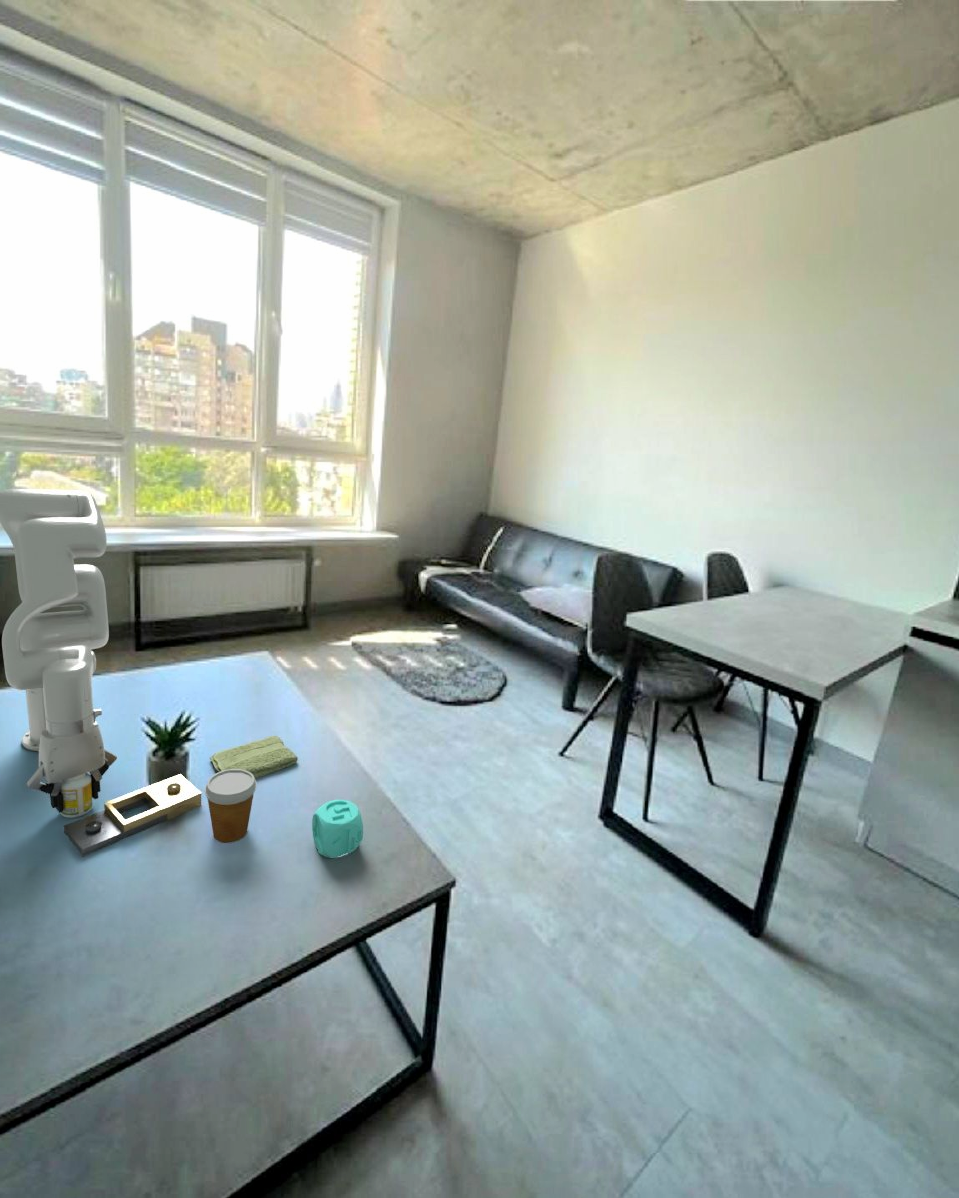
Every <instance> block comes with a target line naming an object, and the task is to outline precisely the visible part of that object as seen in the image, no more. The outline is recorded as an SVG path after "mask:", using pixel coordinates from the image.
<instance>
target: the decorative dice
mask: <svg viewBox="0 0 959 1198" xmlns="http://www.w3.org/2000/svg"><path fill="white" fill-rule="evenodd" d="M311 830H312V839H313V842H314V843H313V844H314V846H315V845H316V846H315V849H316V848H317V849H318V851H317V852H318V854H320V855H321V854H322V855H321V856H323V857H326V858H329V857H332V858H331V859H336V858H335V857H338V856H341V855H343V854H346V853H350V854H351V852H352V853H354V851H356V849H357V848H358V847H360V845H361V842H362V841H363V836H364V824H363V819H362V815H361V811H360V809H359V807H358V806H357V804H355V803H353V802H352V801H350V800H347V799H332V800H329V801H327V802H325V803H323V804H322V805H321V806H319V808H317V809H316V810H315V812H314V814H313V815H312V821H311ZM317 849H316V850H317Z"/></svg>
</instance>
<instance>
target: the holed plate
mask: <svg viewBox="0 0 959 1198" xmlns="http://www.w3.org/2000/svg"><path fill="white" fill-rule="evenodd" d="M145 805H146V806H148V808H149V809H148V810H147V811H144V812H142V813H139V814H137V815H134V816H131V817H129V818H127V819H125V818H124V817H123V816H122V815H123V814H126V813H127V812H130V811H132V810H134V809H138V808H140V807H142V806H145ZM103 807H104V809H103V810H100V811H98V812H95V813H92V814H90V815H87V816H85V817H82V818H80V819H77V820H74V821H72V822H69V823H67V824H64V825H63V833H64V835H65V836H66V837H67V838H68V840H69V841H70V843H72V845H73V846H74V848H75V850H77V852H78V853H79V855H80V856H81V857H82V858H83V857H86V856H88V855H91V854H93V853H95V852H98V851H99V850H103V849H105V848H107V847H109V846H111V845H113V844H116V843H118V842H121V841H123V840H126V839H128V838H130V837H132V836H134V835H137V834H139V833H141V832H144V831H146V830H148V829H151V828H154V827H155V826H157V825H159V824H162V823H165V822H167V821H170V820H171V819H174V818H176V817H178V816H181V815H183V814H186V813H188V812H190V811H193V810H195V809H197V808H200V807H202V791H200V790H199V789H198V788H196V786H194V785H193V784H192V783H191V782H190V781H189V780H188V779H187V778H185V776H183V775H182V774H181V773H180V774H177V775H174V776H172V777H169V778H167V779H163V780H161V781H159V782H155V783H152V784H151V785H148V786H145V787H143V788H140V789H137V790H134V791H133V792H129V793H127V794H123V795H122V796H119V797H117V798H113V799H111V800H108V801H106V802H103Z"/></svg>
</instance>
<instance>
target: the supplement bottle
mask: <svg viewBox="0 0 959 1198" xmlns="http://www.w3.org/2000/svg"><path fill="white" fill-rule="evenodd" d="M90 775H91V774H90V773H89V772H88V773H85V774H82V775H79V776H76V777H73V778H70V779H67V780H64V781H63V782H62V785H61V788H60V792H61V794H62V796H63V807H64V810H63V812H60V814H61V816H62V817H64V818H67V819H69V818H70V819H71V818H79V817H81V816H84V815H86V814H87V813H89V812H90V811H91V810H92V808H93V806H94V805H93V798H92V783H91V776H90Z"/></svg>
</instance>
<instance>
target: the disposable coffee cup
mask: <svg viewBox="0 0 959 1198" xmlns="http://www.w3.org/2000/svg"><path fill="white" fill-rule="evenodd" d="M206 782H207V783H206V785H205V786H204V795H205V796H206V798H207V803H208V804H207V805H208V808H209V816H210V817H209V818H210V821H211V828H212V833H213V836H212V837H213V838H214V840H215V841H217V842H219V843H221V844H222V843H223V844H231V843H235V842H238V841H240V840H242V839H243V838H244V837H245V836H246V835H247V832H248V829H249V823H250V819H251V817H250V816H251V811H252V805H253V798H254V794H255V792H256V790H257V788H258V781H257V780H256V778H254V776H253V774H252V773H250V772H249V771H246V770H242V769H228V770H224V771H220V772H219V771H217V773H214V774H213V775H212V776H210V778H208V779H207V781H206Z"/></svg>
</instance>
